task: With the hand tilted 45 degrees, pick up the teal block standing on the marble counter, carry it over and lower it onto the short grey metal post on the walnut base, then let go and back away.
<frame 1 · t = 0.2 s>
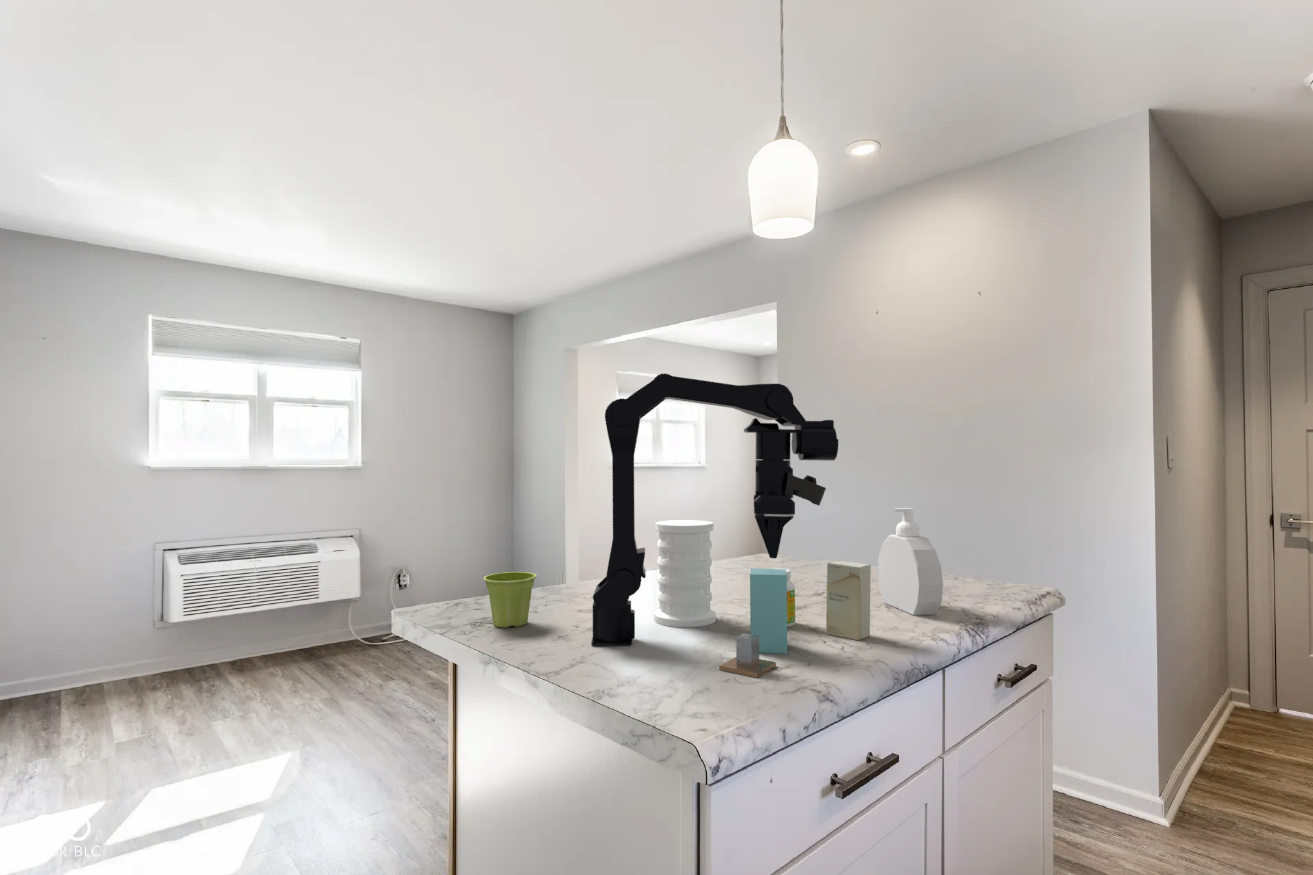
hand: (772, 554, 111), 14 cm above the worktop, tool pointing down, fingers open, 9 cm apart
supplement bottle: (780, 625, 121), on the worktop
plant pot: (510, 625, 121), on the worktop
teal block: (768, 647, 106), on the worktop
post: (747, 667, 95), on the worktop
decorative container: (684, 620, 124), on the worktop
skincare box: (848, 636, 113), on the worktop
soap bottle: (908, 609, 133), on the worktop
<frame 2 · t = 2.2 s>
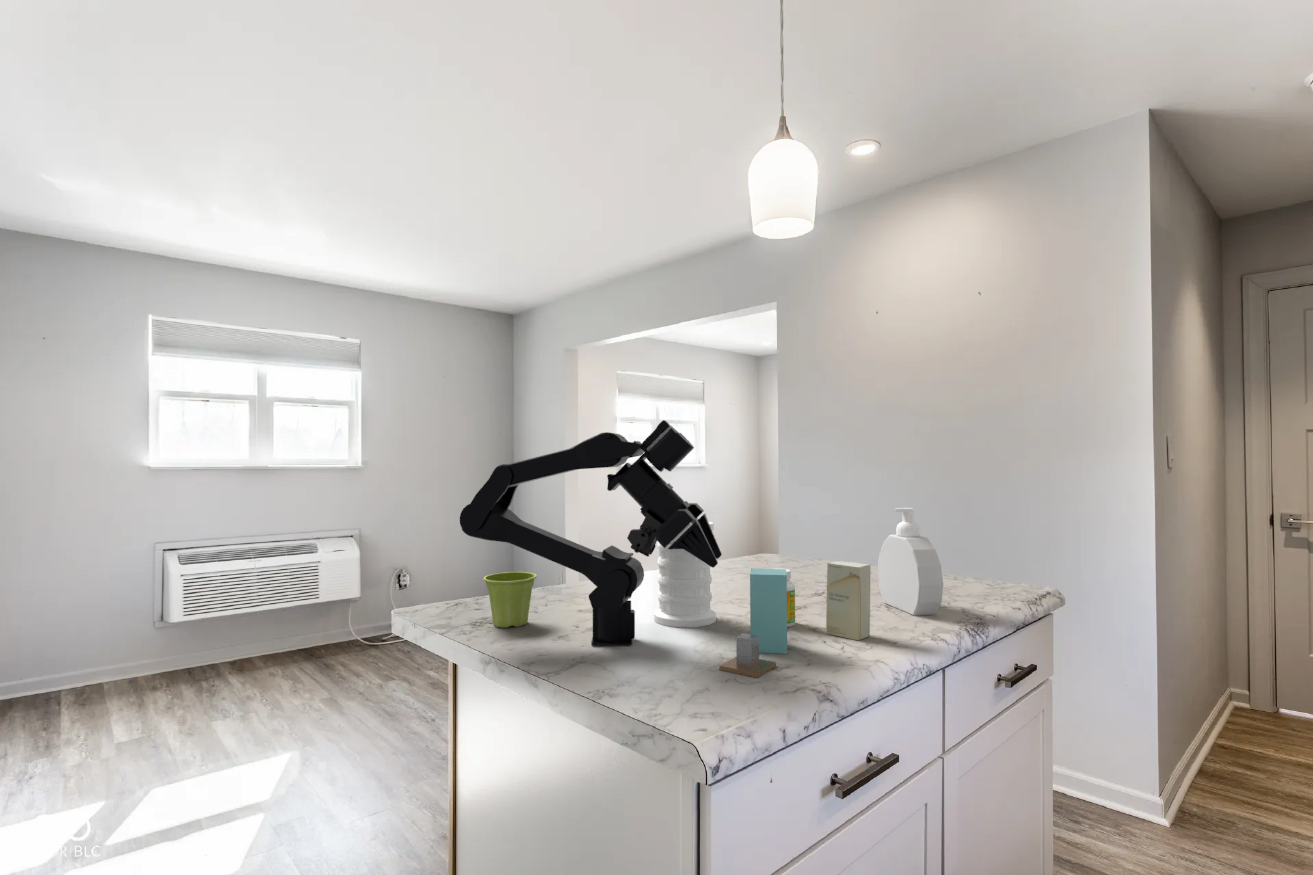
hand: (717, 561, 107), 13 cm above the worktop, tool tilted 45°, fingers open, 9 cm apart
nothing on the worktop moved.
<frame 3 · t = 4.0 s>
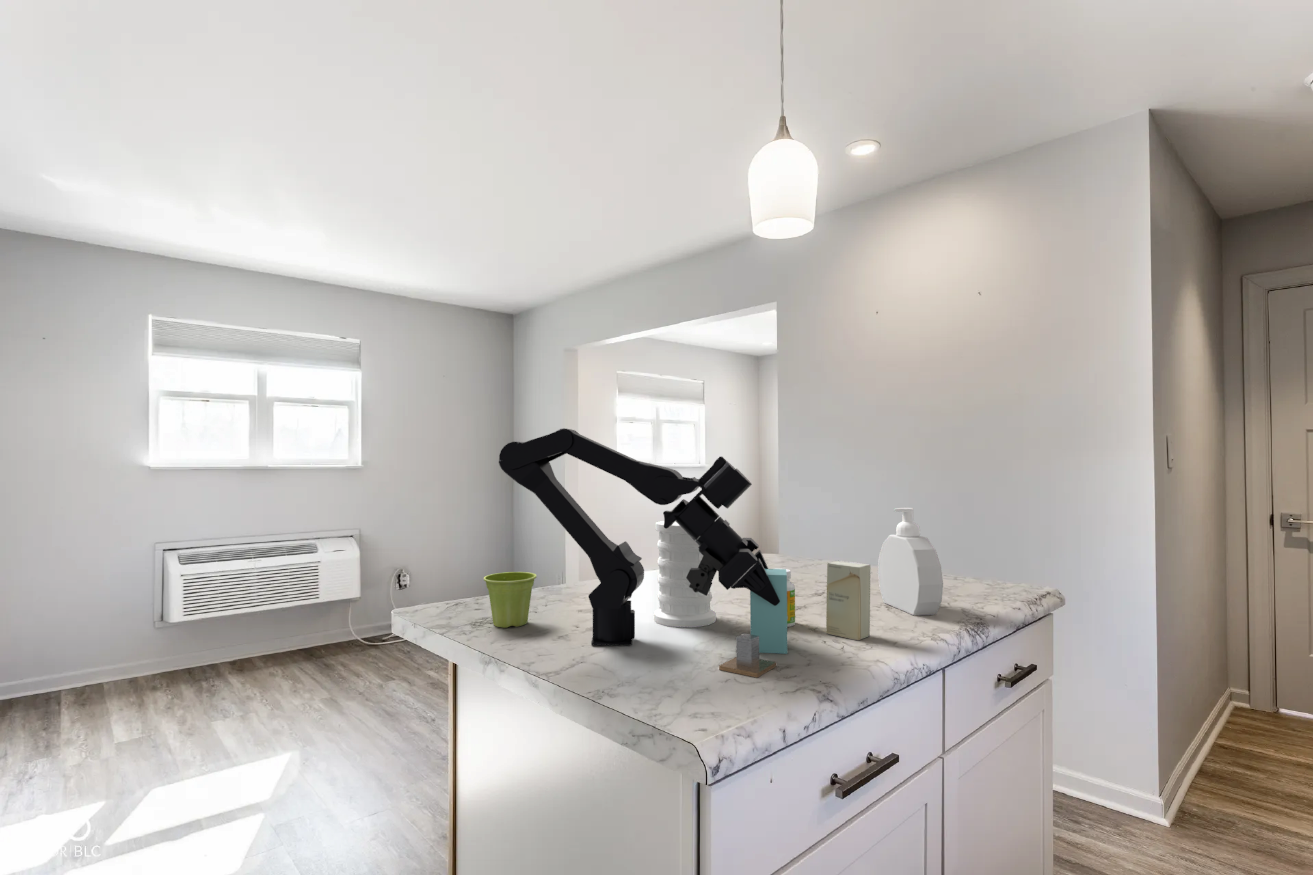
hand: (777, 599, 106), 8 cm above the worktop, tool tilted 45°, fingers closed on teal block, 6 cm apart
teal block: (769, 647, 106), on the worktop, touching gripper
everything else where it was.
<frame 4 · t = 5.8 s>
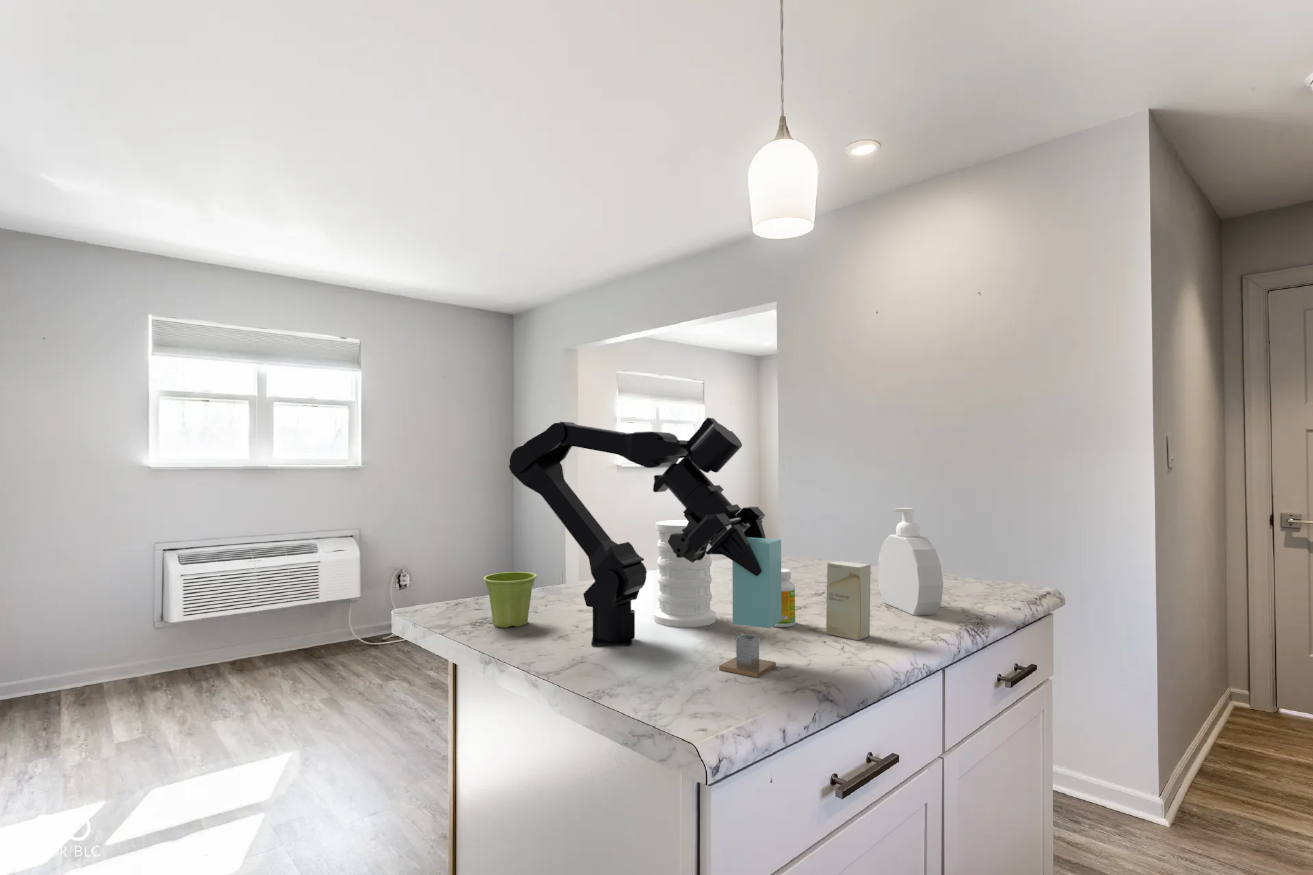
hand: (766, 570, 98), 13 cm above the worktop, tool tilted 45°, fingers closed on teal block, 6 cm apart
teal block: (757, 621, 98), point 6 cm above the worktop, touching gripper
everything else where it was.
when the fingers open (9 cm above the worktop, at t = 7.6 s): teal block stays where it is, resting on post.
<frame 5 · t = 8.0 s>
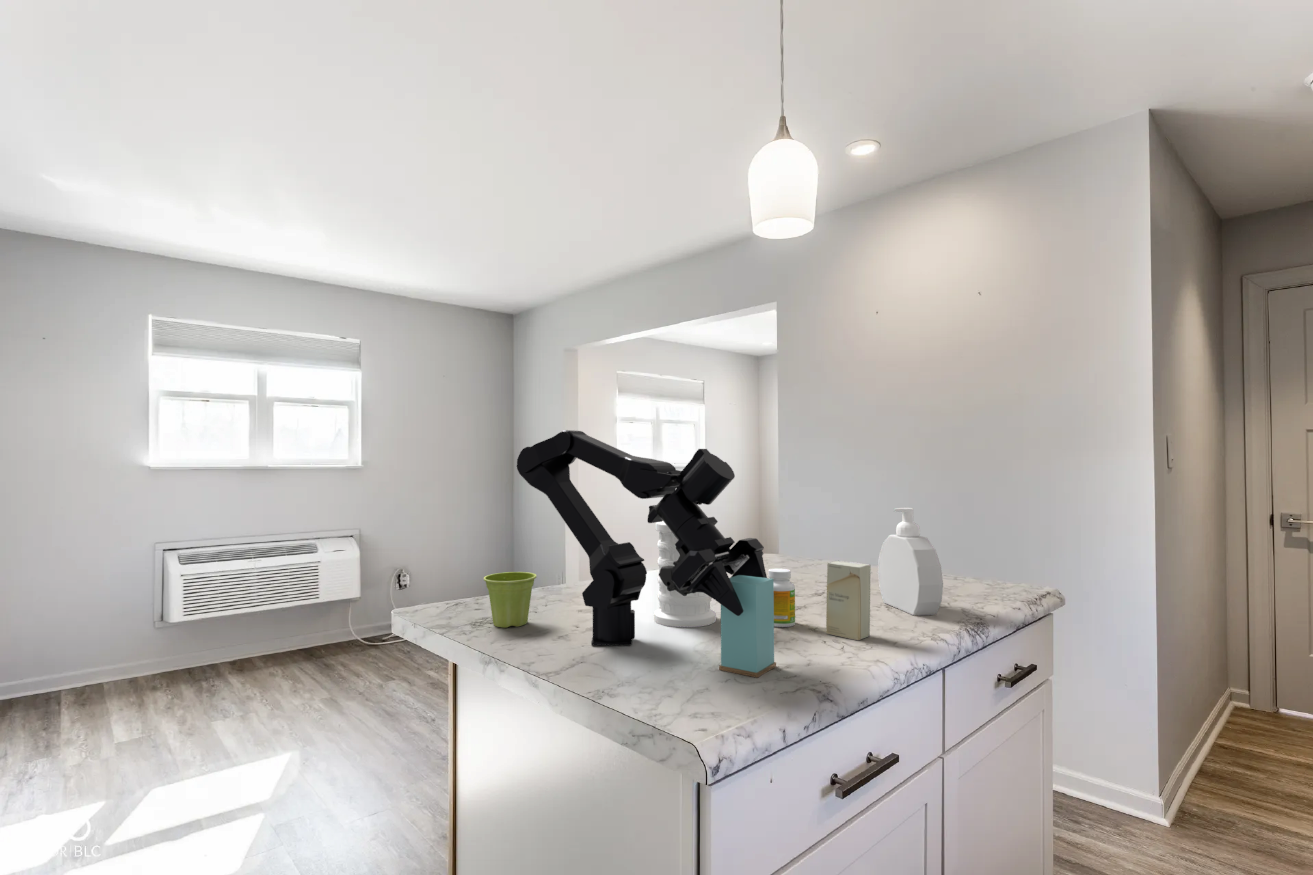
hand: (756, 607, 95), 9 cm above the worktop, tool tilted 45°, fingers open, 9 cm apart
teal block: (747, 663, 95), point 1 cm above the worktop, touching post
everything else where it was.
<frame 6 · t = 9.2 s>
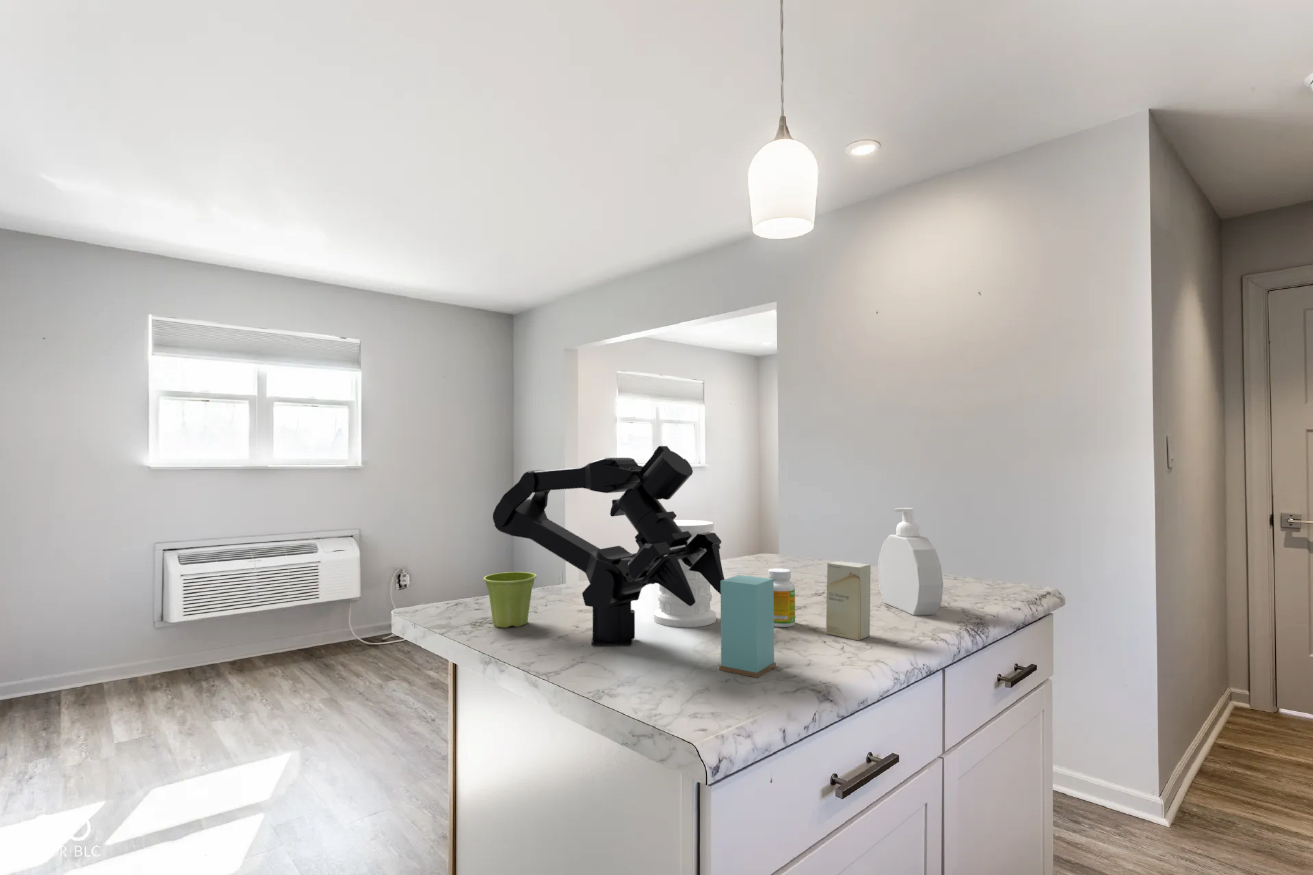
hand: (709, 598, 99), 9 cm above the worktop, tool tilted 45°, fingers open, 9 cm apart
nothing on the worktop moved.
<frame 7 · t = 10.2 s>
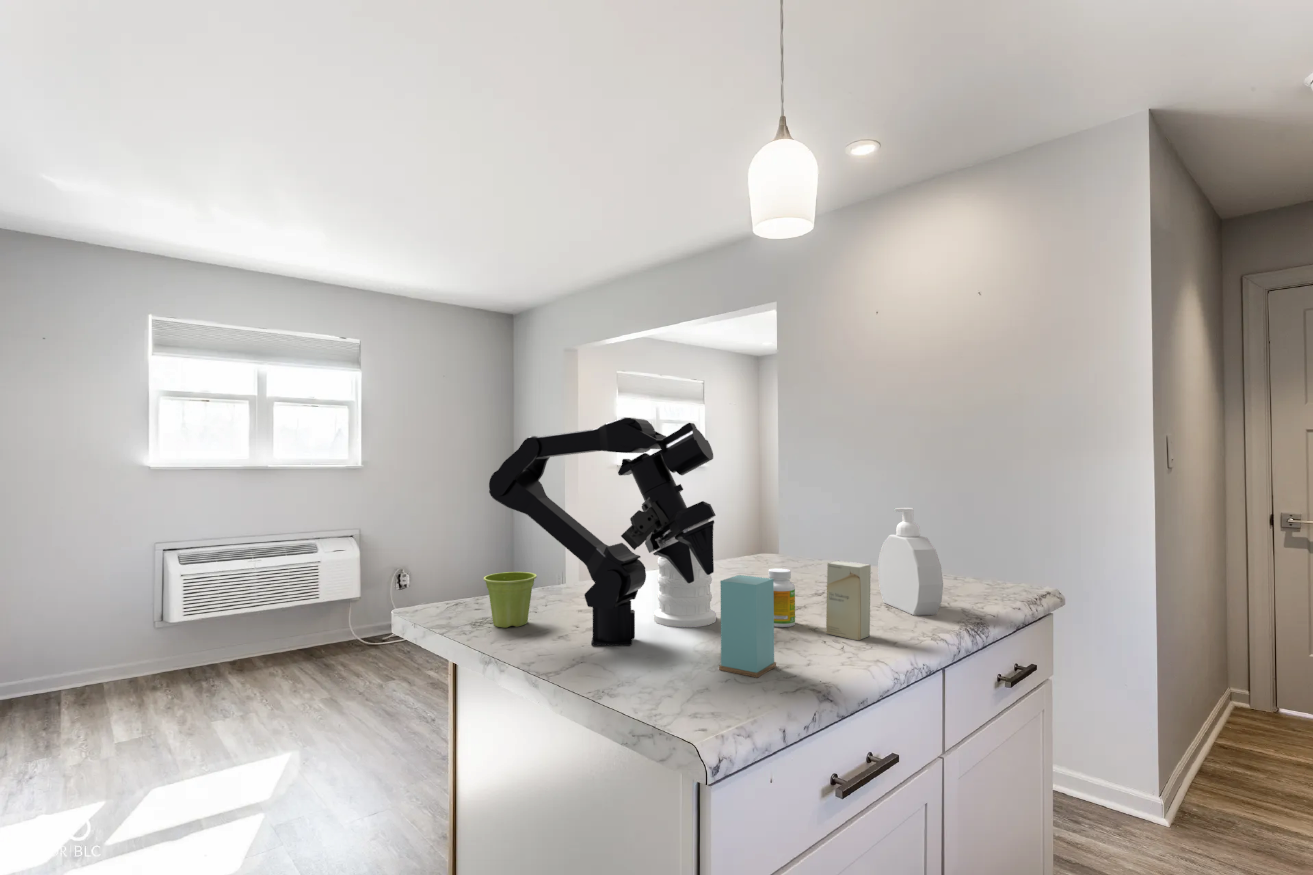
hand: (700, 578, 104), 11 cm above the worktop, tool tilted 25°, fingers open, 9 cm apart
nothing on the worktop moved.
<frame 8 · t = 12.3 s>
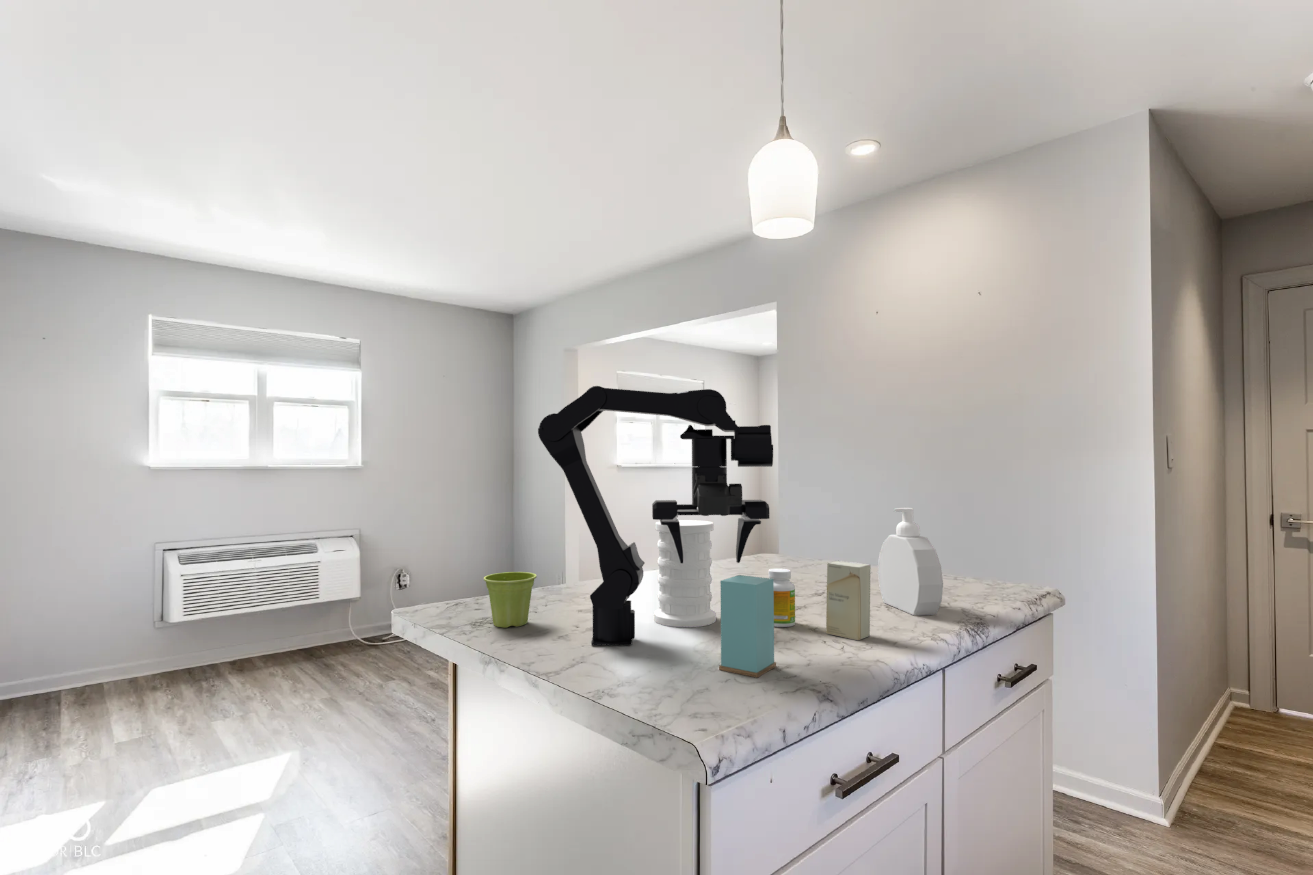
hand: (709, 562, 109), 13 cm above the worktop, tool pointing down, fingers open, 9 cm apart
nothing on the worktop moved.
at the end: teal block 0.1 cm from the post (horizontally); teal block point 0.6 cm above the worktop; teal block tilted 0° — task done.
